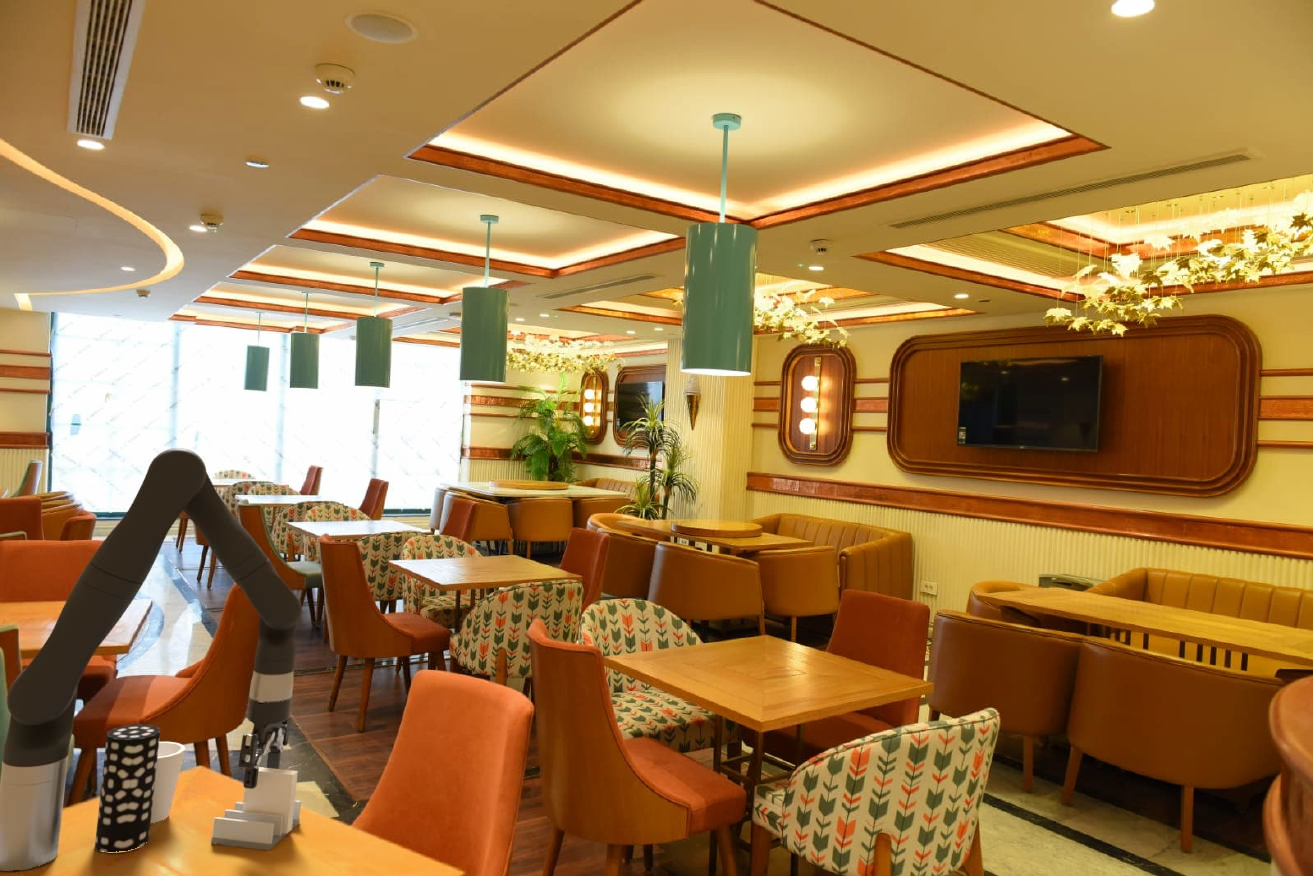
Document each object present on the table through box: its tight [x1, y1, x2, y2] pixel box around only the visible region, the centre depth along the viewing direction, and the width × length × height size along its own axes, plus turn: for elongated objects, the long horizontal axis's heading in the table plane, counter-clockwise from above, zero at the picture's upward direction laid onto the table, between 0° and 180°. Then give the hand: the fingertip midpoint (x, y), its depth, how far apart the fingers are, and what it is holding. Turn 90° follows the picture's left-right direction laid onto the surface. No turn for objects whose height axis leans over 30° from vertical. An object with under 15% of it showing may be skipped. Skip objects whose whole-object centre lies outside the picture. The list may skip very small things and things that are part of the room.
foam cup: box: [150, 741, 186, 825], centre depth 166 cm, size 10×9×13 cm
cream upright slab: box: [242, 766, 299, 834], centre depth 164 cm, size 9×2×11 cm, turn 87°
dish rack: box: [210, 799, 302, 851], centre depth 163 cm, size 11×12×4 cm
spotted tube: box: [94, 724, 161, 852], centre depth 155 cm, size 8×8×20 cm
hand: (261, 779), depth 164 cm, fingers open, 8 cm apart
